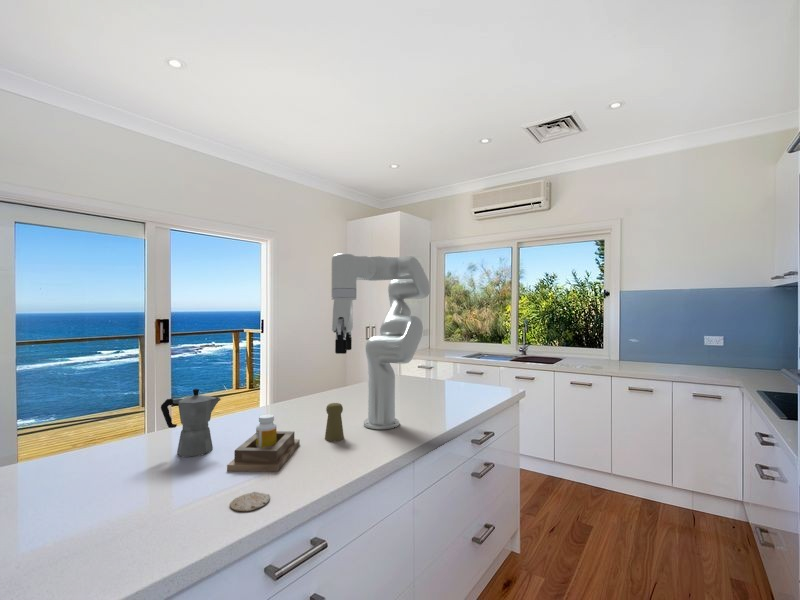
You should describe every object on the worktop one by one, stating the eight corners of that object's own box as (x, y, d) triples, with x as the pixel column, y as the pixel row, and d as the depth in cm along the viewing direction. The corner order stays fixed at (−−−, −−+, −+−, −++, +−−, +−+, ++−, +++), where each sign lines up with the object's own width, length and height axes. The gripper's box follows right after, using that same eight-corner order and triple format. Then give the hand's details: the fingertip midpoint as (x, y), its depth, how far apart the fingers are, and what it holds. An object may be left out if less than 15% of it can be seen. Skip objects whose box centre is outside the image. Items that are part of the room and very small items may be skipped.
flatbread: (241, 517, 79) (241, 512, 79) (223, 505, 84) (223, 500, 84) (277, 502, 85) (277, 497, 85) (258, 491, 90) (258, 487, 90)
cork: (340, 442, 123) (340, 406, 123) (321, 440, 124) (321, 405, 124) (346, 435, 129) (346, 401, 129) (329, 434, 130) (329, 400, 130)
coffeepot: (221, 443, 121) (222, 384, 121) (218, 454, 112) (219, 390, 113) (163, 449, 116) (164, 387, 116) (156, 461, 107) (157, 394, 107)
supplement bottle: (280, 449, 112) (280, 414, 112) (268, 455, 107) (268, 419, 107) (264, 446, 114) (264, 412, 114) (251, 453, 109) (252, 417, 109)
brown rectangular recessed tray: (257, 443, 121) (257, 429, 121) (299, 444, 120) (299, 429, 120) (227, 470, 101) (227, 453, 101) (277, 471, 100) (277, 453, 100)
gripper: (336, 295, 129) (336, 348, 128) (325, 293, 111) (325, 355, 111) (359, 295, 129) (359, 348, 128) (352, 294, 111) (352, 355, 111)
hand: (343, 351), depth 120 cm, fingers open, 9 cm apart
